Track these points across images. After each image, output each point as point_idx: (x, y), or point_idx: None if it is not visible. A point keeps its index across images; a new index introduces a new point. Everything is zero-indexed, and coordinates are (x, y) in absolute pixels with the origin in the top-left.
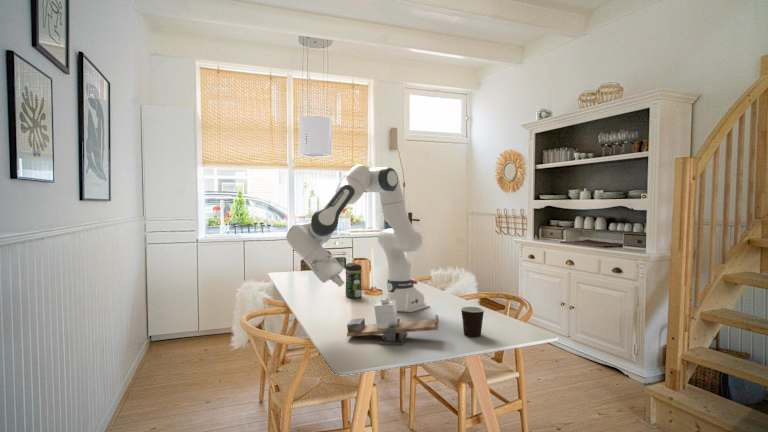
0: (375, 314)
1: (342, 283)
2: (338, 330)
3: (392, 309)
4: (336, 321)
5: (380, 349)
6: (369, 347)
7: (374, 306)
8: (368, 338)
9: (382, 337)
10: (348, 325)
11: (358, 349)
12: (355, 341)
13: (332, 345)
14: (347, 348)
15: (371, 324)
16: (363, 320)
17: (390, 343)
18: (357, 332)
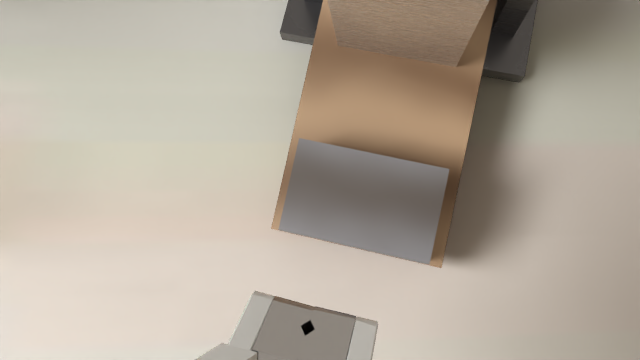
0: (474, 29)
1: (366, 320)
2: None
3: None
4: (34, 350)
5: (601, 78)
6: (570, 136)
7: (487, 1)
8: None
9: None
10: (430, 254)
11: (607, 197)
12: (463, 216)
13: (540, 357)
14: (592, 261)
15: (302, 104)
16: (334, 146)
17: (532, 20)
18: (451, 196)
